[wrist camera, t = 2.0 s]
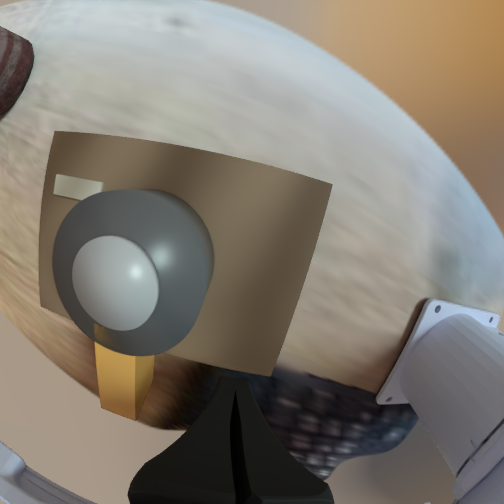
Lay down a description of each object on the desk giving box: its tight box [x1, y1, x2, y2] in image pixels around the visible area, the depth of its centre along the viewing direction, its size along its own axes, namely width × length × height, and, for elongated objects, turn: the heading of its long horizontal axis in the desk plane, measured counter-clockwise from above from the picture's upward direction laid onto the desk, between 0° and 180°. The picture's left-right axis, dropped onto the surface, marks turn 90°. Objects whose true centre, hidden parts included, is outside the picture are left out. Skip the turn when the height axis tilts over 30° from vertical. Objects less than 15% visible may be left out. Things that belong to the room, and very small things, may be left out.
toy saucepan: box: [52, 189, 215, 421], centre depth 10 cm, size 10×6×4 cm, turn 166°
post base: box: [39, 131, 333, 376], centre depth 12 cm, size 14×10×1 cm
